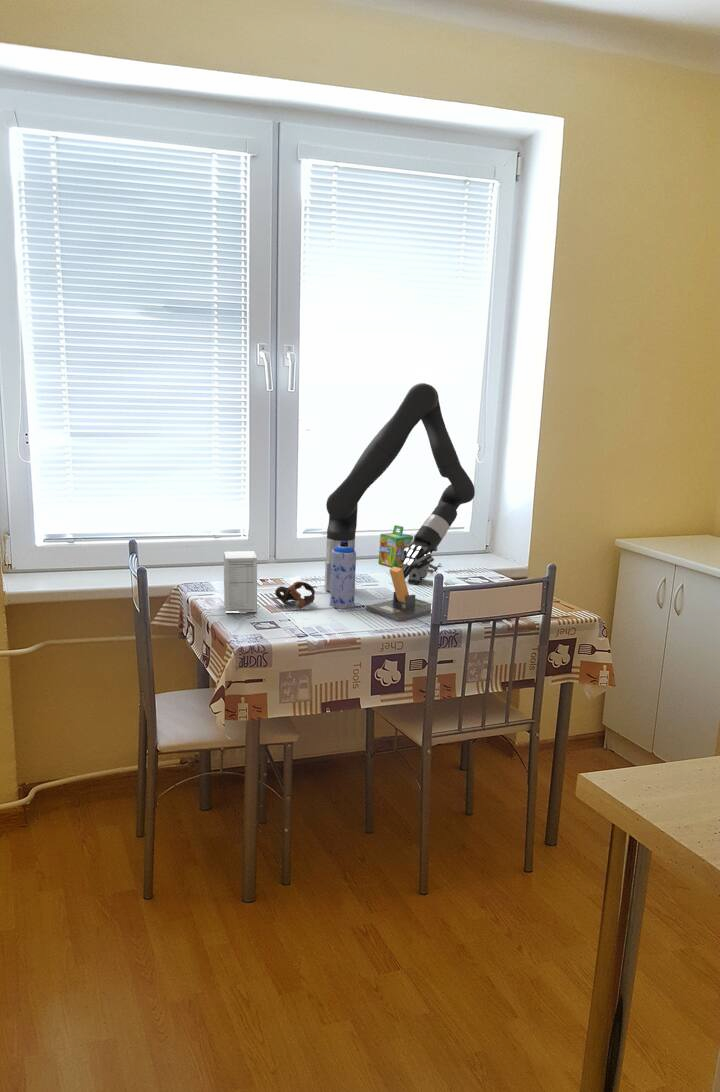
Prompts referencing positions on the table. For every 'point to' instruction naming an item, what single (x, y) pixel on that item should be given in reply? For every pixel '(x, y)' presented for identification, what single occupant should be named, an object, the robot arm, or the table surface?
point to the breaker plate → (401, 608)
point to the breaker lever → (399, 584)
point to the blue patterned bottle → (343, 576)
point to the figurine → (420, 571)
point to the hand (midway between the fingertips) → (401, 576)
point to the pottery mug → (296, 594)
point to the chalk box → (393, 547)
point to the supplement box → (240, 581)
